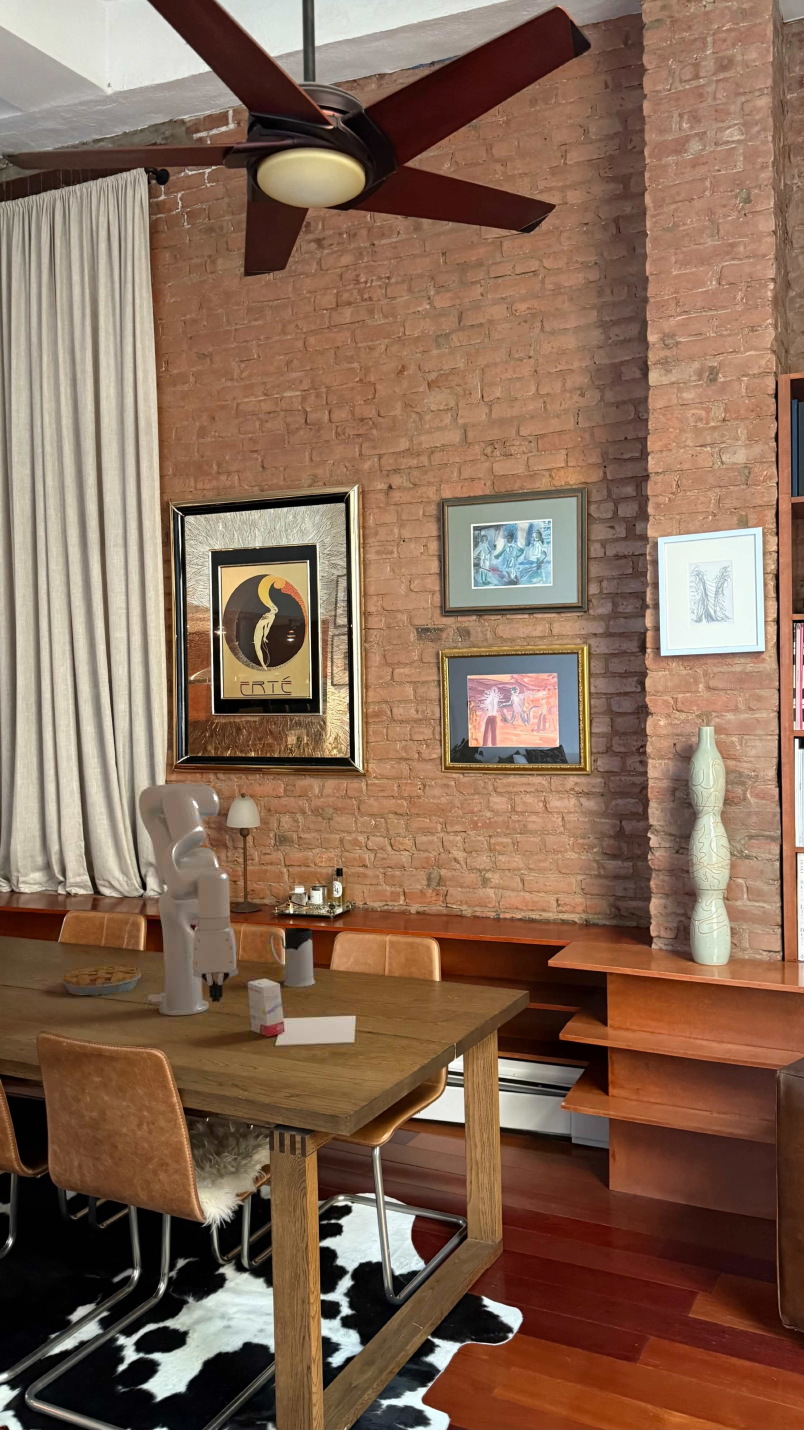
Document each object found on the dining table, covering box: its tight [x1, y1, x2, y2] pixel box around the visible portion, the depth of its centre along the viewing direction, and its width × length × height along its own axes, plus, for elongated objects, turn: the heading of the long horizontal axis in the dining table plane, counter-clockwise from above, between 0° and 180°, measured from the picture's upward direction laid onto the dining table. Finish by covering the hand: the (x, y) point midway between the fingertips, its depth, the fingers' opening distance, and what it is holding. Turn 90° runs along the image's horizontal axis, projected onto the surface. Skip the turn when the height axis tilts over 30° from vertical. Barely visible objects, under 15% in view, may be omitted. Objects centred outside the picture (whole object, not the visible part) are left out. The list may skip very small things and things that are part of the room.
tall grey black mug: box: [270, 927, 316, 988], centre depth 311 cm, size 9×14×15 cm, turn 58°
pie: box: [61, 964, 142, 995], centre depth 311 cm, size 22×22×5 cm
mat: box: [275, 1015, 357, 1047], centre depth 261 cm, size 18×22×1 cm
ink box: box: [247, 978, 285, 1038], centre depth 261 cm, size 9×5×12 cm, turn 33°
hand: (216, 1000), depth 260 cm, fingers closed
